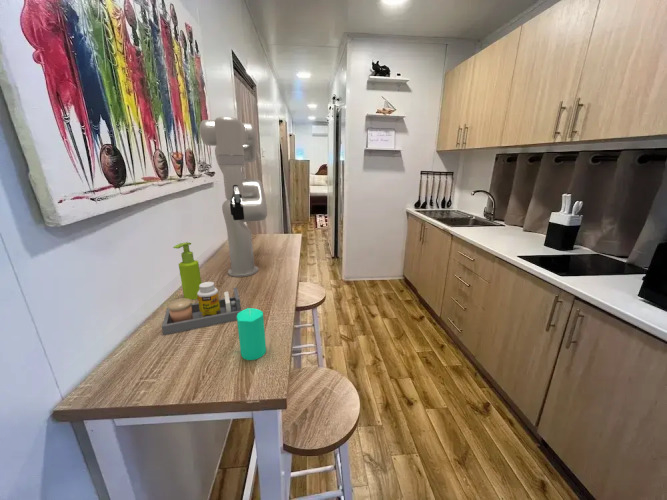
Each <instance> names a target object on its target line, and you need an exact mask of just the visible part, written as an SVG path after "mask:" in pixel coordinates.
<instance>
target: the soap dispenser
mask: <svg viewBox="0 0 667 500" xmlns="http://www.w3.org/2000/svg"><path fill="white" fill-rule="evenodd" d="M190 245H192V242H188V241H186V242H182V243H178V244H176V245H174V246H173V247H172V248H173V249H180V248H182V249H183V251H182V252H181V254H180V255H181V260H182V261H181V262H179V263H178V269H179V276H180V280H181V281H180V282H181V286H182V293H183V298H188V299H190V300H191V301H192V300H196V299H197V300H198V296H197V293H198V291H199V290H200V289H199V285H200V284H201V283H202V278H201V277H202V276H201V272H200V264H199V263H200V262H199V261H198V260H196V259H194V252H193V251H191V250H190Z"/></svg>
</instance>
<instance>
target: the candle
mask: <svg viewBox="0 0 667 500" xmlns="http://www.w3.org/2000/svg"><path fill="white" fill-rule="evenodd" d="M264 318H265V317H264V311H262V310H261V309H259V308H258V309H257V308H253V307H252V308H251V307H247V308H245V309H243V310H242V309H241V312H239V313H238V314H237V320H236V322H237V331H238V340H239V342H238V343H239V349H240V351H239V352H240V356H241V358H242V359H244V360H245V361H256V360H258V359H261V358H262V357H263V356H264V355H265V354H266V352H267V346H266V345H267V344H266V331H265V319H264Z"/></svg>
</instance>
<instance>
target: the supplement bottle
mask: <svg viewBox="0 0 667 500" xmlns="http://www.w3.org/2000/svg"><path fill="white" fill-rule="evenodd" d="M199 289H200V290H199V291H198V293H197V296H198V298H197V301H198V302H197V303H199V309H200V316H201V317H206V316H212V315H217V314H220V313H221V311H220V303H219V299H220V296H219V289H218V288H216V287H215V282H213V281H205V282H201V284H200V285H199Z"/></svg>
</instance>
